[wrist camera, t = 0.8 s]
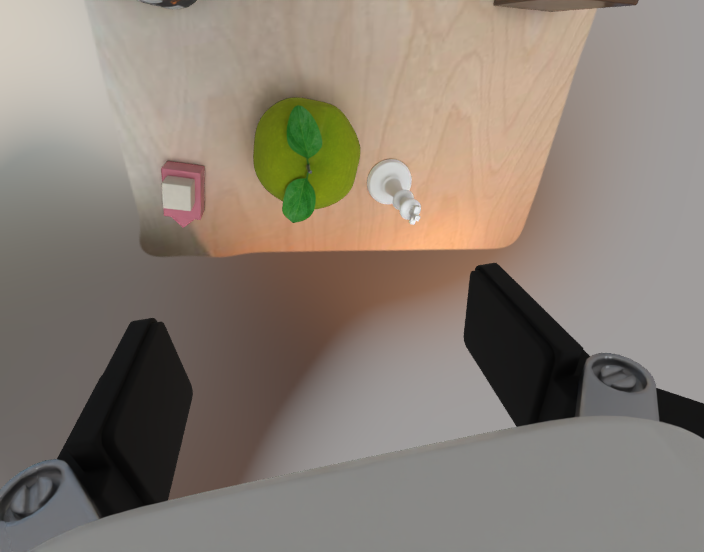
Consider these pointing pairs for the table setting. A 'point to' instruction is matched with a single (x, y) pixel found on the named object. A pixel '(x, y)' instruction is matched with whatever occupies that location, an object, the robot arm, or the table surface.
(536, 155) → the table surface
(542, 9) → the block
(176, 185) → the pink and grey toy
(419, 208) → the chess piece
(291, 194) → the fruit
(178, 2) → the pill bottle
